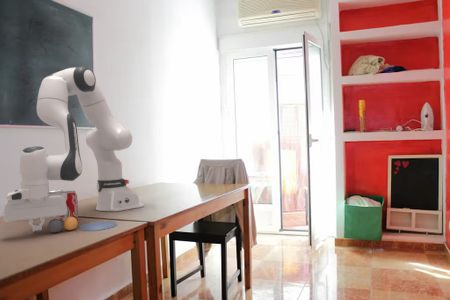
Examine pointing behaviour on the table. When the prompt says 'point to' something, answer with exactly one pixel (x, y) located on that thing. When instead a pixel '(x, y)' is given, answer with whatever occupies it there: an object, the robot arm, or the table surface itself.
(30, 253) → the table surface
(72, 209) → the soda can
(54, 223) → the blue-grey ball
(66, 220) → the object ball
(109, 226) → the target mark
